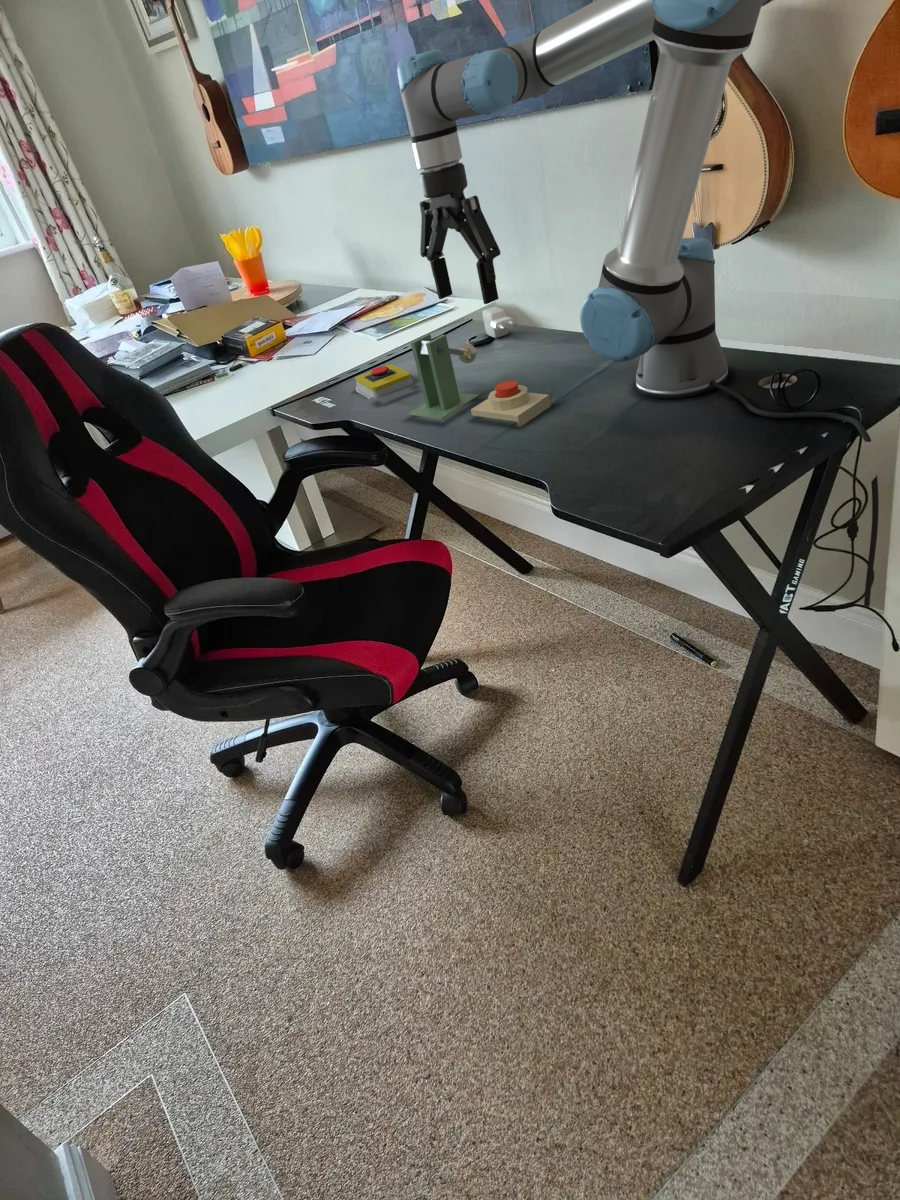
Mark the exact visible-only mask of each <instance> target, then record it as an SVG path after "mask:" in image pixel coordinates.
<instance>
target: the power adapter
mask: <svg viewBox="0 0 900 1200" xmlns="http://www.w3.org/2000/svg"><path fill="white" fill-rule="evenodd" d="M481 315H482V319H483V324H484V329H485V333H486V335H487V336H490V337H492V338H495V339H498V338H502V337H503V336H504V337H505V336H506V335H508V334H509V331H510V329H509V328H510V327H517V323H516V322H515V319H513V318H512V317H510V316H507V313H506V311H505V309H504V308H502V307H500V306H491V307H488V308H486V309H484V310H482V314H481Z"/></svg>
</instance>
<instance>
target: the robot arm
mask: <svg viewBox="0 0 900 1200" xmlns="http://www.w3.org/2000/svg"><path fill="white" fill-rule="evenodd" d="M773 1H774V0H594V1H592V2H590V3H588V4H587V5H585V6H583V7H581V8H579V9H578V10H576V11H574V12H572V13H571V14H569V15H567V16H565V17H563V18H561V19H559V20H558V21H556V22H554V23H553V24H550V25H549V26H547V27H545V28H543V29H541V30H540V31H538V32H535V33H534V34H531V35H530V36H529V37H527V38H525V39H523V40H521V41H518V42H516V43H513V44H510V45H507V46H501V47H498V48H495V49H486V50H483V51H479V52H476V53H475V54H471V55H468V56H464V57H461V58H458V59H454V60H451V61H446V60H445V57H444V53H443V51H442V50H441V49H437V48H436V49H432V50H429V51H424V52H421V53H417V54H414V55H410V56H406V57H404V58H401V59H400V60H399V61H398V63H397V65H396V71H397V77H398V78H397V79H398V83H399V90H400V91H399V94H400V96H401V99H402V104H403V107H404V112H405V117H406V120H407V121H406V122H407V125H408V129H409V135H410V137H411V138H410V139H411V144H412V150H413V154H414V160H415V164H416V168H417V169H418V170H419V171H421V172H420V174H419V181H420V187H421V189H422V191H421V192H422V194H423V196H424V198H426V199H425V200H421V201H420V202H419V208H420V216H421V218H420V219H421V220H420V249H419V250H420V251H419V254H420V257H422V258H426V260H427V261H428V262H429V264H430V268H431V272H432V277H433V278H434V283H435V287H436V288H435V289H436V293H437V297H438V300H442V299H445V298H448V297H450V296H452V295H454V293H453V289H452V285H451V280H450V275H449V269H448V265H447V261H446V257H445V254H444V252H443V250H444V246H445V243H446V239H447V234H448V230H449V229H451V230H455V231H456V232H457V233H459V234H460V235H461V236H462V238H463V240H464V241H465V243H466V245H467V246H468V247H469V249H470V250H471V252H472V253H473V255H474V256H475V258H476V259H477V262H476V264H475V265H476V269H477V276H478V280H479V286H480V291H481V297H482V301H483V304H484V305H489V304H491V303H493V302H495V301H497V300H499V299H500V298H499V294H498V289H497V288H498V287H497V283H496V280H497V277H496V276H497V275H496V271H495V266H494V260H495V259H496V258H497V257H498V256H500V255H501V249H500V248H499V244H498V243H497V241H496V239H495V236H494V234H493V232H492V230H491V227H490V226H489V223H488V221H487V219H486V217H485V215H484V213H483V211H482V207H481V203H480V199H479V196H478V195H476V194H475V195H472V196H470V197H467V198H466V195H465V192H464V190H466V188H467V187H468V178H467V174H466V173H467V172H466V168H465V164H463V162H460V160H461V159H462V158H463V154H462V153H463V152H462V148H461V145H460V144H461V143H460V138H459V134H458V126H457V121H458V120H459V119H460V120H461V119H466V118H472V117H477V116H481V115H482V116H483V115H485V116H489V115H492V114H494V113H497V112H500V111H503V110H505V109H507V108H509V107H510V106H511V105H515V104H517V103H520V102H523V101H525V100H528V99H532V98H534V99H535V98H538V97H541V96H543V95H546V94H548V93H549V92H550V91H552V90H554V89H555V88H556V87H557V86H558V85H561V84H563V83H565V82H568V81H570V80H572V79H574V78H576V77H578V76H580V75H583V74H584V73H587V72H588V71H591V70H593V69H595V68H597V67H599V66H601V65H603V64H605V63H608V62H610V61H612V60H614V59H617V58H618V57H621V56H623V55H625V54H627V53H629V52H631V51H633V50H636V49H638V48H639V47H642V46H644V45H646V44H648V43H650V42H652V41H655V43H656V45H657V47H658V49H659V57H658V62H657V65H656V71H655V76H654V80H653V85H652V89H651V94H650V97H649V103H648V107H647V112H646V117H645V121H644V125H643V130H642V135H641V140H640V144H639V148H638V153H637V157H636V161H635V167H634V171H633V174H632V175H633V176H632V181H631V183H630V188H629V189H630V190H629V192H628V198H627V203H626V207H625V210H624V211H625V212H624V216H623V221H622V225H621V230H620V234H619V239H618V243H617V246H616V247H615V248H614V249H612V250H610V251H609V252H607V253H606V254H605V257H604V259H603V263H602V267H601V273H600V278H599V281H598V286H597V287H595V288H594V289H593V290H592V291H590V292H589V294H588V295H587V296H586V298H585V299H584V300H583V302H582V305H581V307H580V312H579V321H580V327H581V331H582V334H583V336H584V337H585V338H586V339H587V340H588V343H589V346H590V347H591V348H592V349H593V350H594V351H595V352H596V353H597V354H599V355H600V356H602V357H603V358H605V359H607V360H609V361H612V362H613V361H614V362H620V363H622V362H629V361H632V360H635V359H636V358H639V360H638V364H637V369H636V374H635V388H636V390H637V391H638V392H639V393H640V394H641V395H643V396H646V397H648V398H649V397H650V398H656V399H664V400H665V399H669V400H670V399H684V398H690V397H695V396H699V395H702V394H705V393H709V392H710V391H711V392H712V391H713V390H715V389H717V390H720V391H722V392H723V393H725V394H727V395H729V396H731V397H733V398H735V399H736V400H738V401H739V402H740V403H742V405H743V406H744V407H745V408H746V409H748V410H749V411H750V412H752V413H754V414H755V415H758V416H762V417H767V418H772V419H803V418H804V419H805V418H808V419H809V418H821V419H823V418H824V419H831V420H836V421H840V422H846V423H849V424H851V425H853V426H854V427H855V428H856V429H857V431H858V432H859V434H860V436H861V437H862V439H863V441H864V442H866V443H871V442H872V439H871V437H870V435H869V433H868V431H867V430H866V428H865V427H864V425H863V424H862V423H861V422H860V420H858V419H857V418H855V417H853V416H849V415H844V414H840V413H835V412H829V411H828V412H827V411H802V412H774V411H767V410H763V409H760V408H757V407H756V406H754V405H752V403H750V401H748V400H747V398H745V397H744V396H743V395H741V393H738V392H737V391H735V390H733V389H731V388H729V387H727V386H725V385H723V384H724V383H726V381H727V380H728V377H729V366H728V361H727V359H726V357H725V353H724V350H723V348H722V345H721V343H720V340H719V337H718V335H717V332H716V285H715V284H716V283H715V282H716V281H715V280H716V279H715V264H716V259H715V258H714V246H713V243H712V242H711V240H709V239H707V238H703V237H684V234H685V231H686V227H687V223H688V220H689V216H690V213H691V209H692V205H693V201H694V199H695V195H696V191H697V187H698V184H699V180H700V176H701V174H702V170H703V166H704V164H705V163H704V162H705V159H706V155H707V151H708V149H709V144H710V141H711V137H712V134H713V130H714V128H715V127H714V126H715V124H716V120H717V116H718V112H719V109H720V106H721V102H722V98H723V95H724V91H725V87H726V85H727V81H728V77H729V73H730V69H731V66H732V63H733V62H734V60H735V59H737V58H738V57H739V56H741V55H742V54H743V53H745V52H746V51H747V50H748V49H749V48H750V46H751V44H752V39H753V36H754V33H755V30H756V26H757V23H758V20H759V16H760V12H761V9H762V7H764V6H766V5H768V4H770V3H771V2H773ZM878 481H879V480H878V475H876V476H875V477H874V478H873V479H872V480H871V482H870V483H871V484H870V485H871V530H870V541H869V542H870V543H869V552H868V561H867V568H866V577H865V588H864V598H863V606H864V607H866V608H869V607H871V594H872V581H873V574H874V567H875V558H876V549H877V541H878V530H879V529H878V528H879V509H880V508H879V504H880V503H879V500H880V499H879V482H878Z"/></svg>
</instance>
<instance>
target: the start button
mask: <svg viewBox="0 0 900 1200" xmlns="http://www.w3.org/2000/svg"><path fill="white" fill-rule="evenodd" d="M518 385H519V384H518V381H516V380H507V381H503V382H500V383H497V384H496V385H495V387H494V388H495V389H494V390H496V394H497V398H507V397H511V396H514V395H517V394H518V393H519V388H518Z"/></svg>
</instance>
